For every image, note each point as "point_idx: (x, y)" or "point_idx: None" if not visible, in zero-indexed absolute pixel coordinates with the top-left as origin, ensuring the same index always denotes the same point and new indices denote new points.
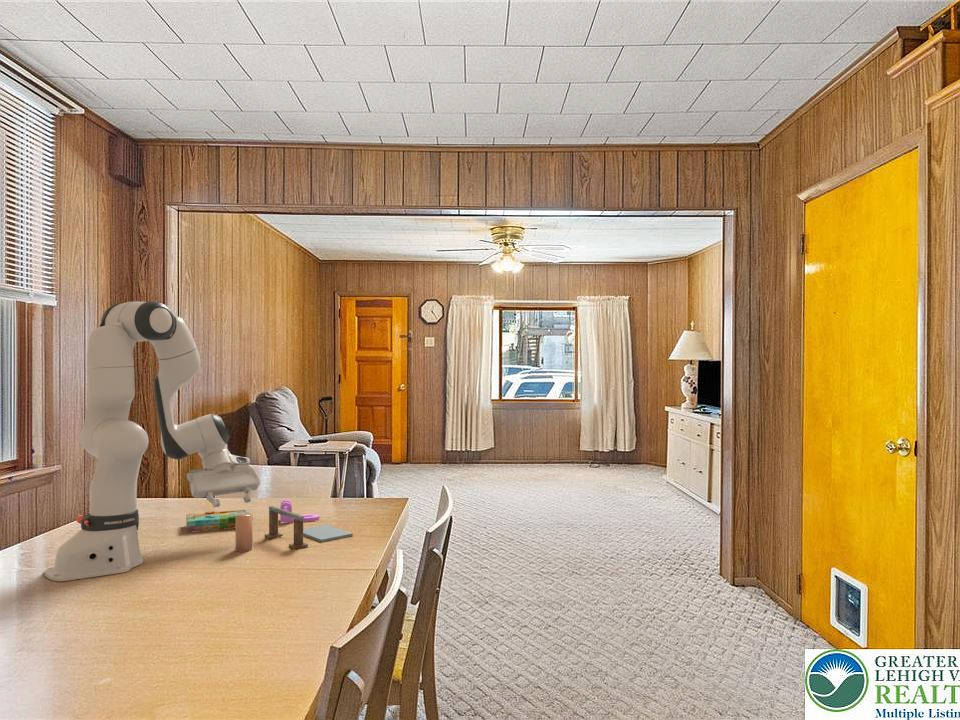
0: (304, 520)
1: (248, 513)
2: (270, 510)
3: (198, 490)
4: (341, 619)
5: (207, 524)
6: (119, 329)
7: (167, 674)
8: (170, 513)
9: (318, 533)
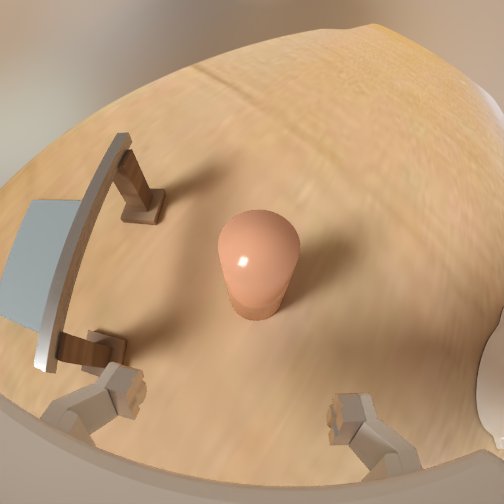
0: None
1: (222, 259)
2: (57, 357)
3: (489, 454)
4: (315, 32)
5: None
6: None
7: (434, 64)
8: None
9: (47, 254)
